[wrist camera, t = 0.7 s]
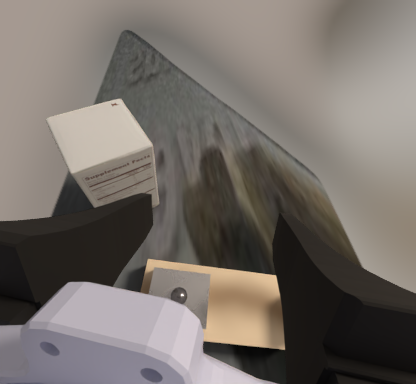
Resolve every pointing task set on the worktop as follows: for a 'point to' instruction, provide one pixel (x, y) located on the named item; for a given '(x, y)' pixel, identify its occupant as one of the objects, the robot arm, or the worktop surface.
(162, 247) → the worktop surface
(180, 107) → the worktop surface
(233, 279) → the board
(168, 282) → the lever cap
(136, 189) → the supplement box
